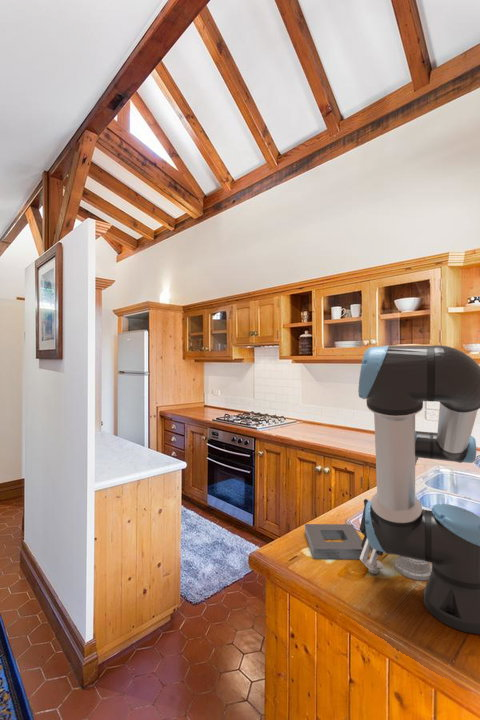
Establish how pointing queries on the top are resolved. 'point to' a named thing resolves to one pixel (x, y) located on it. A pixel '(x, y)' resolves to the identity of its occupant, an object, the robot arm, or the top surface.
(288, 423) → the top surface
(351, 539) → the socket plate
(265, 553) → the top surface
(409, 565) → the mechanical component
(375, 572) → the screw
